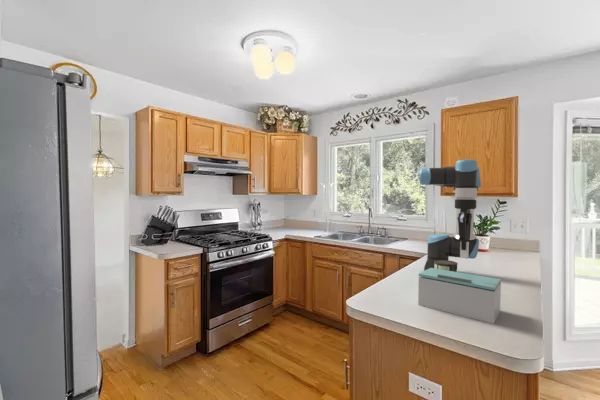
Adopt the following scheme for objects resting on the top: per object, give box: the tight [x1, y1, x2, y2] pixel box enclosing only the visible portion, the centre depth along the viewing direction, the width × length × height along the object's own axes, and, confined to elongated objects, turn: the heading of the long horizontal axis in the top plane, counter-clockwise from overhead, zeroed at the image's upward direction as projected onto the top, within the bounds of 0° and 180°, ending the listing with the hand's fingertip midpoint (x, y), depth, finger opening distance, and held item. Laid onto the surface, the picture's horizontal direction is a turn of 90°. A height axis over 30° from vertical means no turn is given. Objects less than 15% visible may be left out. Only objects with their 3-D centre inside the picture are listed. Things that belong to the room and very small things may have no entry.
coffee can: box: [434, 260, 459, 272], centre depth 143 cm, size 10×10×14 cm
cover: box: [418, 268, 502, 290], centre depth 120 cm, size 16×27×2 cm, turn 49°
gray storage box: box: [417, 276, 502, 325], centre depth 121 cm, size 16×27×12 cm, turn 49°
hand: (464, 257), depth 117 cm, fingers closed
